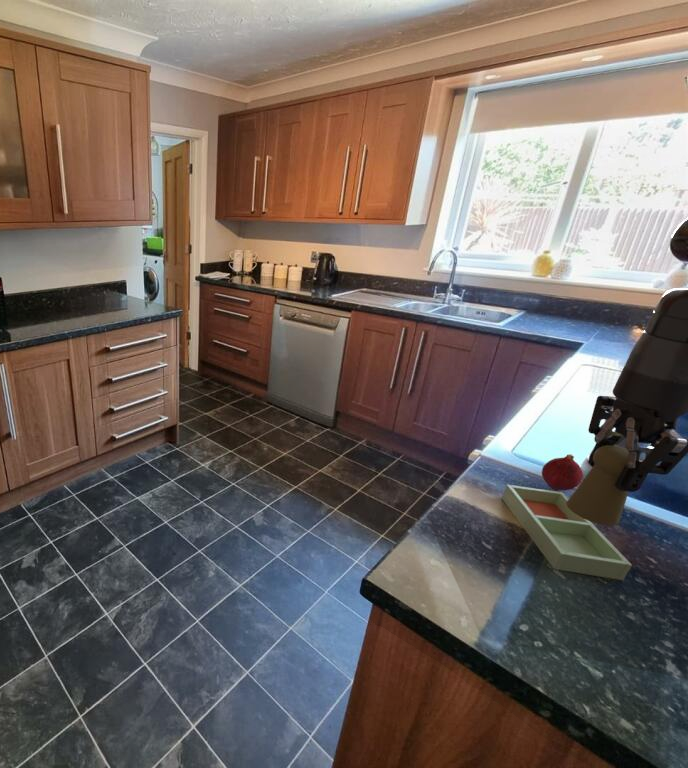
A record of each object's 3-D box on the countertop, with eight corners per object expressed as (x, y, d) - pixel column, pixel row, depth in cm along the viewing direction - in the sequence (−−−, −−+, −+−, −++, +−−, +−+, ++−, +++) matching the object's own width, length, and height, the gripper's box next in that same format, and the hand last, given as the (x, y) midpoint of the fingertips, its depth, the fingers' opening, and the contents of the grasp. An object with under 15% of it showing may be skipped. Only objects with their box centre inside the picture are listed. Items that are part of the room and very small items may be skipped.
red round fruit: (576, 503, 79) (594, 468, 76) (537, 492, 82) (553, 457, 79) (571, 487, 83) (587, 453, 80) (534, 477, 86) (549, 443, 83)
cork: (630, 523, 62) (666, 461, 58) (596, 528, 61) (630, 464, 57) (587, 497, 68) (617, 438, 63) (555, 500, 67) (584, 441, 62)
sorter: (555, 505, 78) (562, 492, 77) (623, 580, 63) (632, 565, 62) (501, 497, 80) (506, 484, 79) (553, 569, 65) (561, 553, 63)
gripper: (757, 396, 48) (682, 514, 55) (656, 354, 61) (606, 454, 68) (677, 389, 49) (614, 505, 56) (595, 350, 62) (552, 448, 69)
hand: (610, 477), depth 62 cm, fingers closed on cork, 5 cm apart
